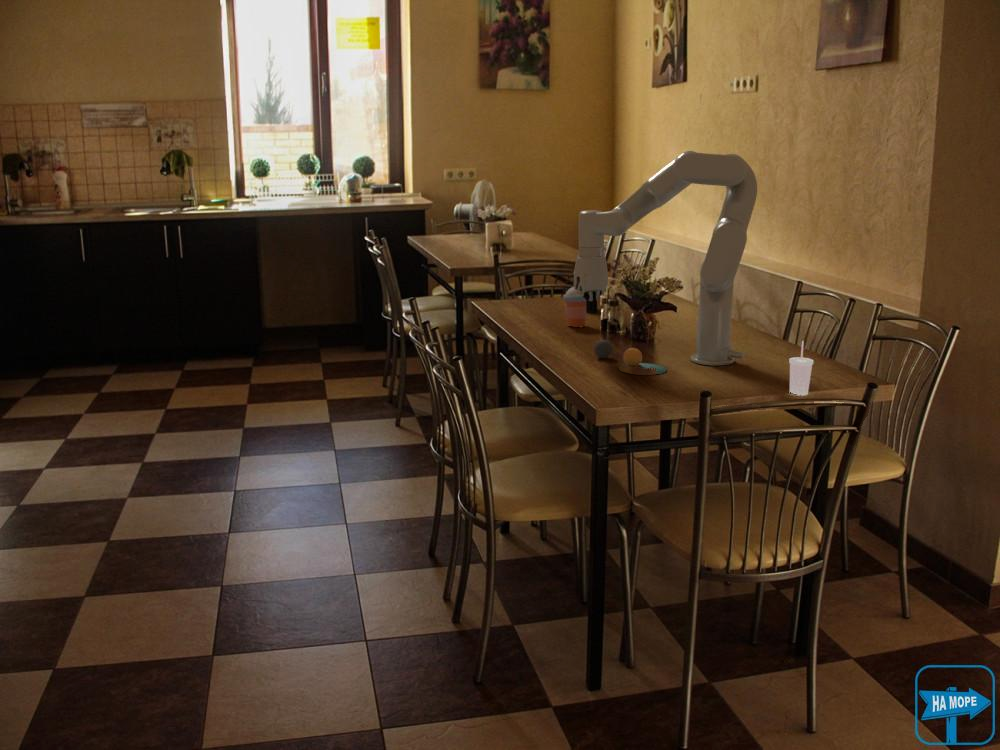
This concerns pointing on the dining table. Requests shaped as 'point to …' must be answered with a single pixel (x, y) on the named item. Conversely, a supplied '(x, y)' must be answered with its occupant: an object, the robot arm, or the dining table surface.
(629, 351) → the object ball
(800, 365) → the beverage cup
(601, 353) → the dark grey ball
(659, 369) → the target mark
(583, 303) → the cup with straw
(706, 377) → the dining table surface
